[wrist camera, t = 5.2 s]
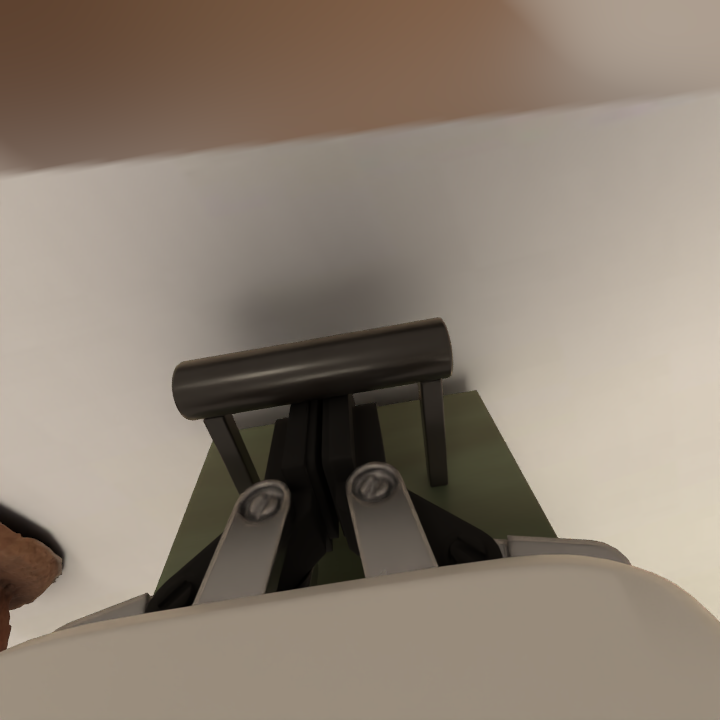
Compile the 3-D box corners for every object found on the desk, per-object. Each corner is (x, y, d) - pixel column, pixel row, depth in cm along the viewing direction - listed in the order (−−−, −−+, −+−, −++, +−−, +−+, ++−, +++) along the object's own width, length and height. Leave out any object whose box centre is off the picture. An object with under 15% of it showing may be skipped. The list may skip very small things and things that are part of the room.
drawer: (157, 311, 14) (-8, 485, 7) (476, 255, 13) (618, 380, 7) (292, 596, 24) (277, 780, 17) (477, 568, 23) (535, 745, 17)
